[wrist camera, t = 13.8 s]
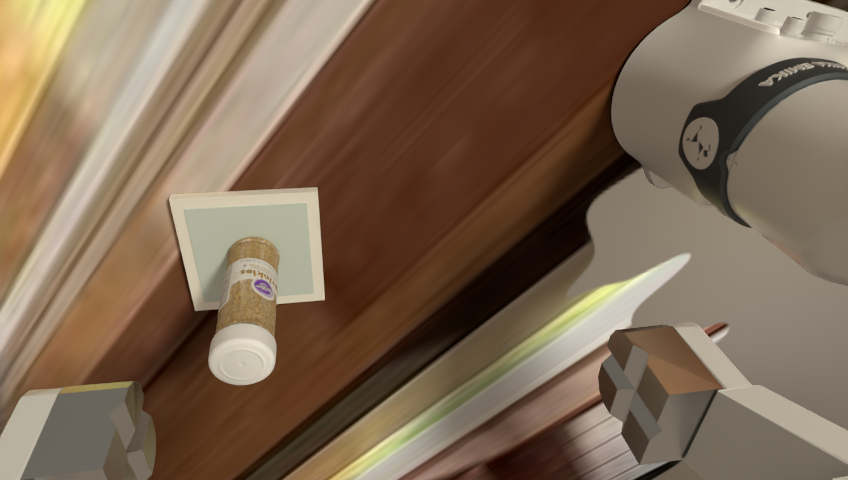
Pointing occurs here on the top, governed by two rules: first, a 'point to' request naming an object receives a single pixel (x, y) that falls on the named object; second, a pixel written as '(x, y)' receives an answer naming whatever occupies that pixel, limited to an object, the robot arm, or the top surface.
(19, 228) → the top surface
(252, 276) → the sprinkles bottle
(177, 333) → the top surface
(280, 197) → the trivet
